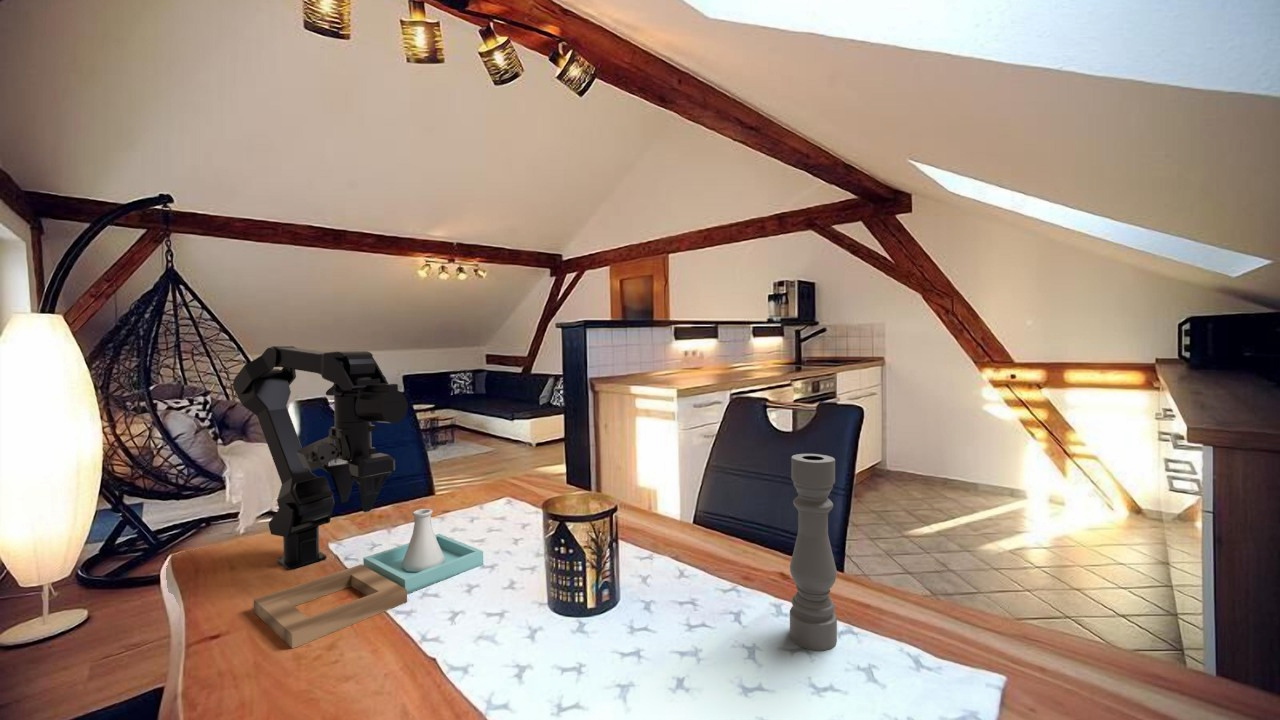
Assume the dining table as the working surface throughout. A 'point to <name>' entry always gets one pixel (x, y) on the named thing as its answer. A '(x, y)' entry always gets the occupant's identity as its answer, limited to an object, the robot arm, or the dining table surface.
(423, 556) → the flask
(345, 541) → the dining table surface
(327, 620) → the frame
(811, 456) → the candle holder
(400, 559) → the teal tray
